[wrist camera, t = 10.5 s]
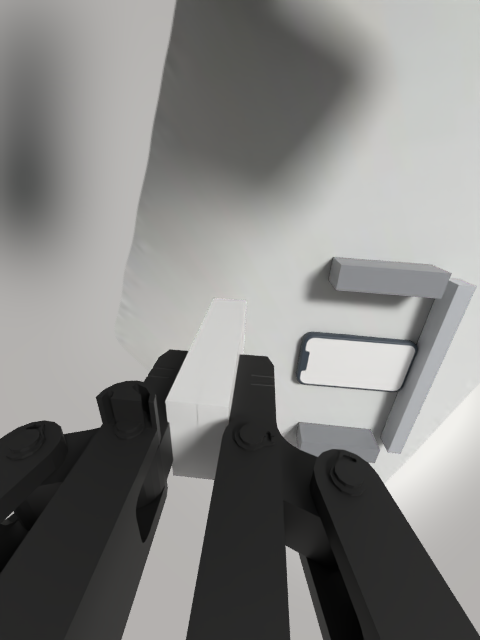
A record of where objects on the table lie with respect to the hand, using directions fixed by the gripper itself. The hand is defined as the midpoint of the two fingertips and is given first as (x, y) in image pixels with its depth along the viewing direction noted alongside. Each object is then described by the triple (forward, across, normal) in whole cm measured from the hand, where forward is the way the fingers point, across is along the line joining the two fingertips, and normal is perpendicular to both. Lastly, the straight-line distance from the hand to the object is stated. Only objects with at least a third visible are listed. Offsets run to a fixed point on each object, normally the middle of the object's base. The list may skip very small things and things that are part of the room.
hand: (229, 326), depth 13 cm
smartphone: (+24, +16, -17) cm, 34 cm away
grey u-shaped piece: (+24, +18, -17) cm, 34 cm away
